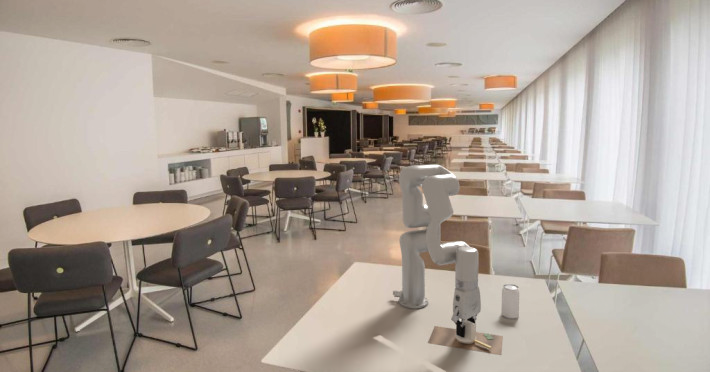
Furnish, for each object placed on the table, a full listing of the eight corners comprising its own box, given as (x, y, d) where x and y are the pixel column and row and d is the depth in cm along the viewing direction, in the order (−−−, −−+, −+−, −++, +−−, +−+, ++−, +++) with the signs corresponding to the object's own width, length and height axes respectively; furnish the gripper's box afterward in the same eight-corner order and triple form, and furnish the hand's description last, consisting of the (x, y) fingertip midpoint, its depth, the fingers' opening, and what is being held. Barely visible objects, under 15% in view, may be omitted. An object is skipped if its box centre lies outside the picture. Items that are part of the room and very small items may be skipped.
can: (520, 319, 164) (521, 290, 162) (502, 318, 165) (503, 289, 163) (517, 312, 170) (518, 284, 168) (500, 311, 171) (501, 283, 170)
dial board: (427, 346, 146) (427, 342, 145) (434, 329, 158) (434, 325, 157) (501, 359, 137) (501, 354, 137) (502, 340, 149) (502, 335, 149)
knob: (451, 338, 147) (451, 321, 147) (463, 331, 152) (463, 315, 151) (484, 353, 137) (485, 335, 136) (496, 346, 141) (497, 328, 141)
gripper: (460, 293, 136) (459, 346, 138) (490, 280, 146) (489, 329, 149) (441, 286, 142) (441, 337, 144) (472, 274, 152) (471, 322, 155)
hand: (465, 332), depth 147 cm, fingers open, 5 cm apart
